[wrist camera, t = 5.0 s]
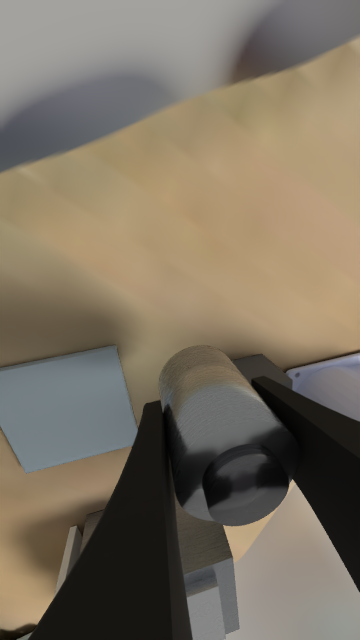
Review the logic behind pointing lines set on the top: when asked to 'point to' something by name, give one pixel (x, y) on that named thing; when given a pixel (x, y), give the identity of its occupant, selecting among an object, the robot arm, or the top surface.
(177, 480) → the cylinder
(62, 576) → the label tile
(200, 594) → the box
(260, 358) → the rubber block
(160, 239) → the top surface
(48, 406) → the pad
